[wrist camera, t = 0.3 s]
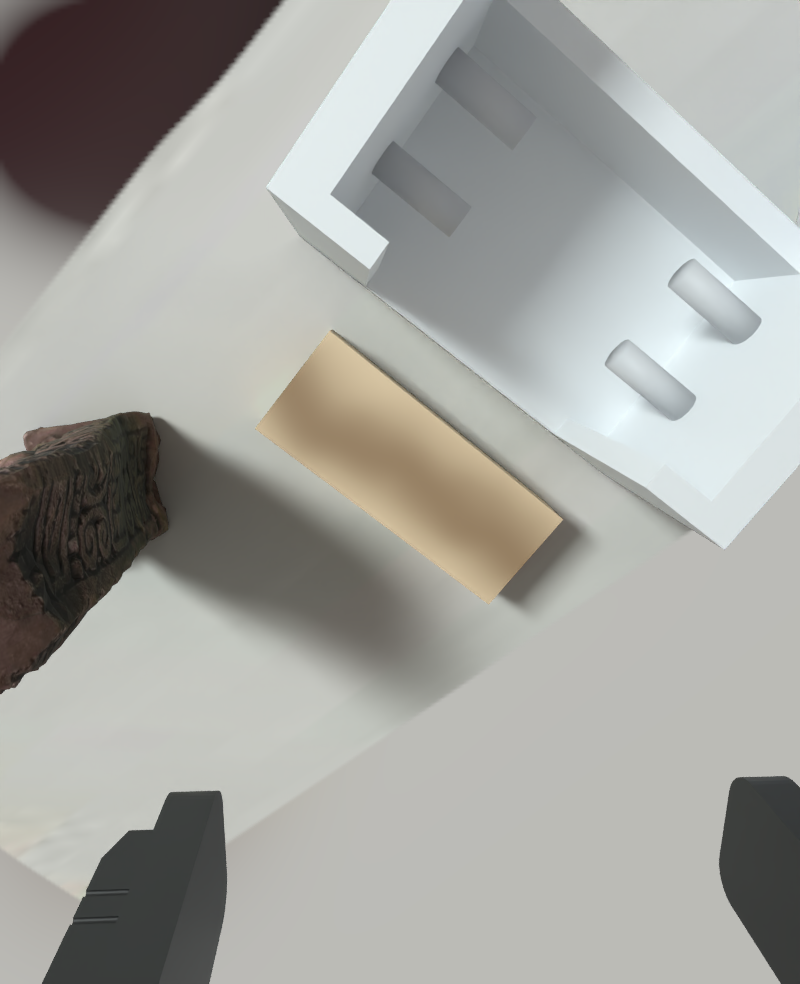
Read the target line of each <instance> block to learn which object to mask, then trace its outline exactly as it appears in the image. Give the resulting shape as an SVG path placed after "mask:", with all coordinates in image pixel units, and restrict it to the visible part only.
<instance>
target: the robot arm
mask: <svg viewBox="0 0 800 984" xmlns="http://www.w3.org/2000/svg"><path fill="white" fill-rule="evenodd" d="M719 867H720V875H721V880H722V884H723V888H724V891H725V893H726V896H727V898H728V900H729V902H730V904H731V906H732V907H733V909H734V911H735V912H736V914H737V915H738V917H739V918H740V920H741V921H742V923H743V925H744V926H745V928H746V929H747V931H748V933H749V934H750V936H751V937H752V939H753V940H754V942H755V943H756V945H757V947H758V948H759V950H760V951H761V953H762V955H763V956H764V957H765V959H766V961H767V962H768V964H769V966H770V967H771V969H772V970H773V972H774V973H775V975H776V977H777V978H778V980H779V981H780V983H781V984H800V787H799V786H798V785H797V784H796V783H795V782H793V780H791V779H789V778H788V777H785V776H775V777H740V778H736V779H735V780H734V781H733V782H732V784H731V787H730V791H729V797H728V804H727V811H726V817H725V823H724V831H723V837H722V844H721V850H720V858H719ZM226 868H227V867H226V851H225V834H224V817H223V801H222V795H221V792H220V791H194V792H170V793H169V794H168V796H167V798H166V800H165V802H164V805H163V807H162V810H161V812H160V815H159V817H158V820H157V822H156V825H155V827H154V830H132V831H128V832H127V833H126V834H125V835H124V836H123V837H122V838H121V839H120V840H119V841H118V842H117V843H116V844H115V845H114V846H113V847H112V848H111V849H110V850H109V851H108V852H107V853H106V854H105V855H104V856H103V857H102V859H101V861H100V863H99V865H98V867H97V869H96V871H95V873H94V875H93V877H92V880H91V882H90V884H89V886H88V888H87V890H86V896H85V897H83V898H82V901H81V903H80V905H79V907H78V909H77V911H76V913H75V915H74V917H73V924H72V925H70V926H69V928H68V930H67V932H66V934H65V936H64V938H63V941H62V942H61V945H60V947H59V949H58V951H57V953H56V955H55V957H54V959H53V961H52V963H51V966H50V968H49V970H48V972H47V974H46V976H45V978H44V980H43V982H42V984H209V982H210V977H211V973H212V968H213V964H214V960H215V955H216V951H217V946H218V942H219V937H220V933H221V928H222V924H223V918H224V912H225V904H226V892H227V869H226Z"/></svg>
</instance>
